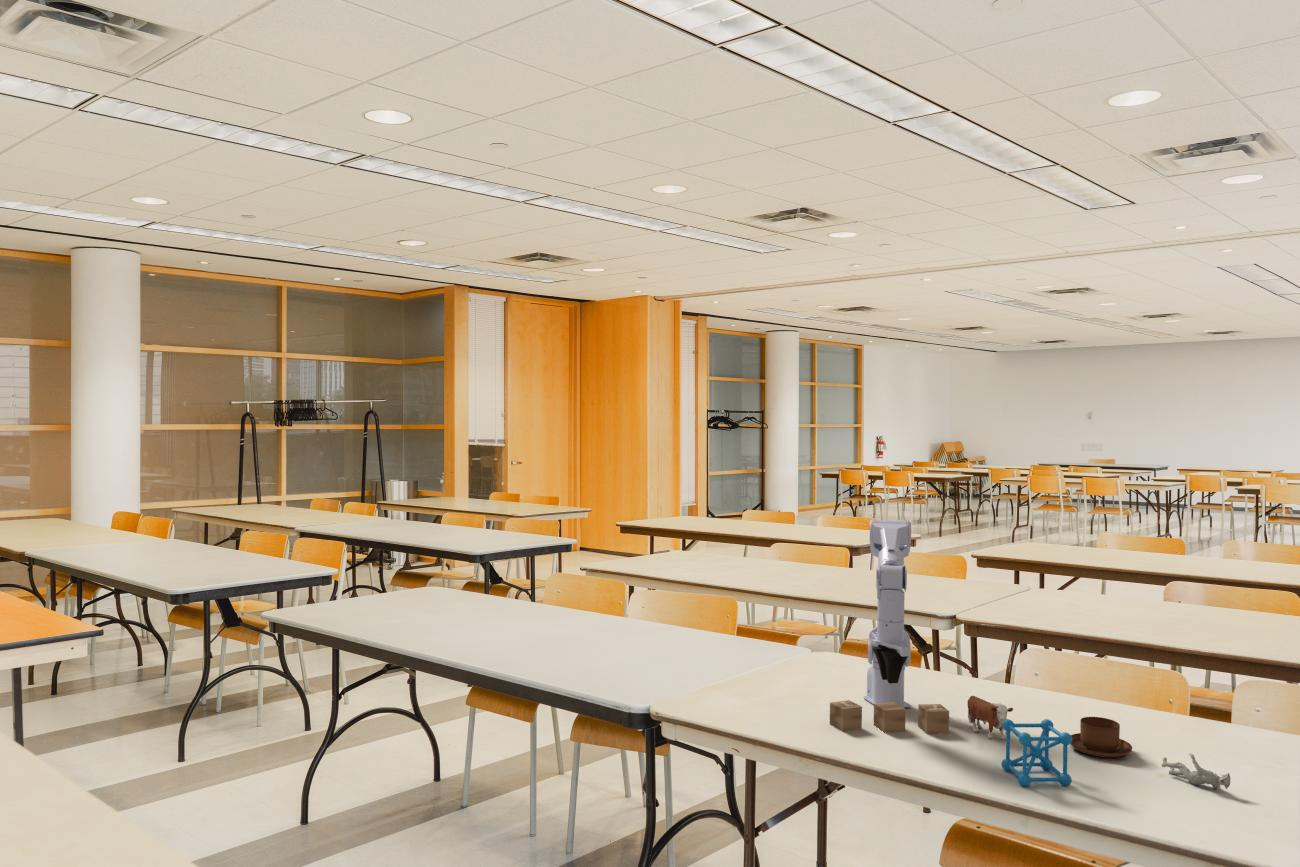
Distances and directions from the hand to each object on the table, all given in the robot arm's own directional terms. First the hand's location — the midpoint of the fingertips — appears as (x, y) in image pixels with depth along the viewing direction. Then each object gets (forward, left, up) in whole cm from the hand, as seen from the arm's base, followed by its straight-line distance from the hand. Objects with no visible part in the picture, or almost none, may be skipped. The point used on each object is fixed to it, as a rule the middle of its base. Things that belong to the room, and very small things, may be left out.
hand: (889, 681), depth 209 cm
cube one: (-3, -9, -10) cm, 14 cm away
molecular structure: (+32, +14, -11) cm, 37 cm away
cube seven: (+3, +9, -10) cm, 14 cm away
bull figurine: (+9, +19, -11) cm, 24 cm away
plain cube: (0, 0, -10) cm, 10 cm away
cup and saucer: (+22, +36, -11) cm, 44 cm away
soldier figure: (+41, +42, -11) cm, 60 cm away
